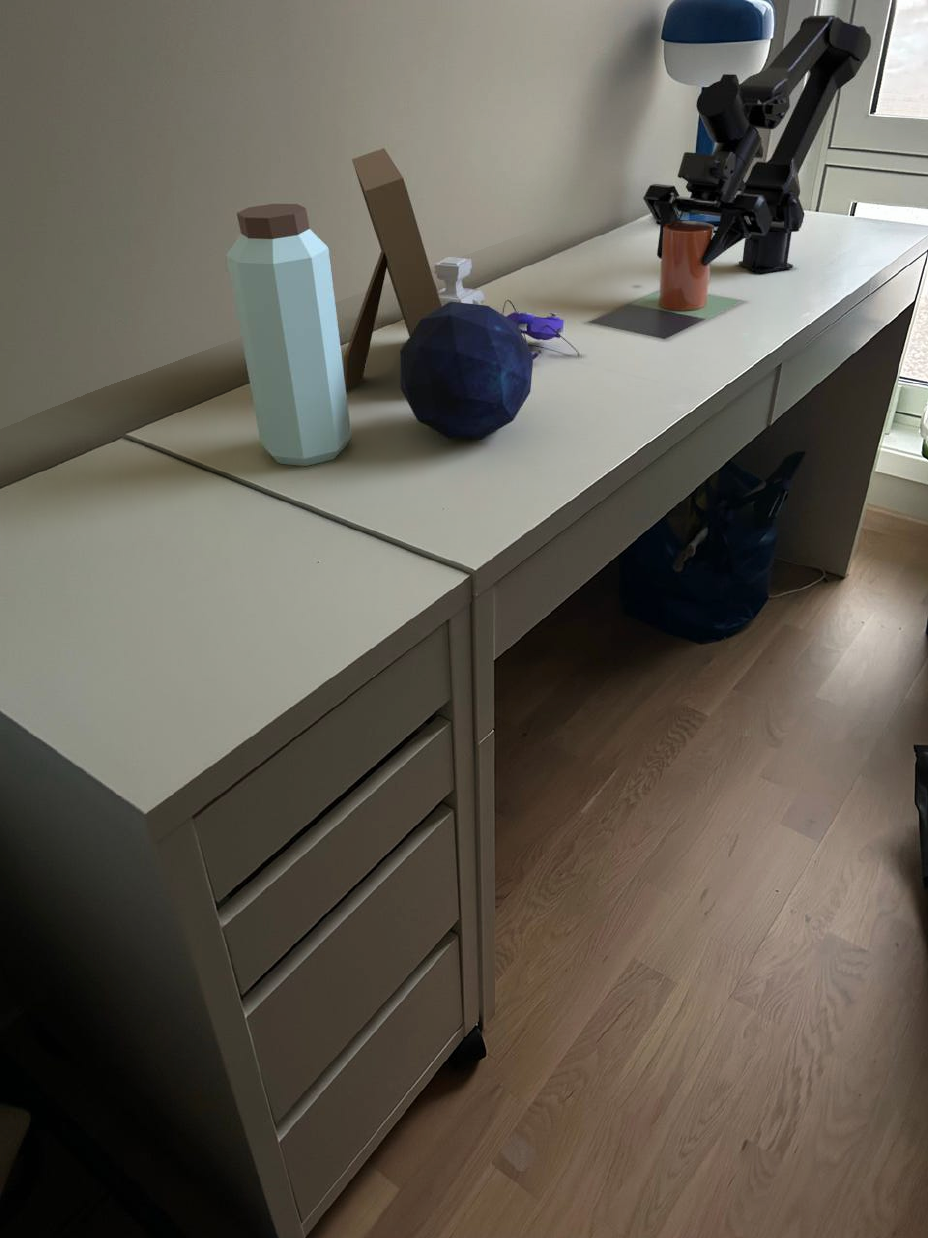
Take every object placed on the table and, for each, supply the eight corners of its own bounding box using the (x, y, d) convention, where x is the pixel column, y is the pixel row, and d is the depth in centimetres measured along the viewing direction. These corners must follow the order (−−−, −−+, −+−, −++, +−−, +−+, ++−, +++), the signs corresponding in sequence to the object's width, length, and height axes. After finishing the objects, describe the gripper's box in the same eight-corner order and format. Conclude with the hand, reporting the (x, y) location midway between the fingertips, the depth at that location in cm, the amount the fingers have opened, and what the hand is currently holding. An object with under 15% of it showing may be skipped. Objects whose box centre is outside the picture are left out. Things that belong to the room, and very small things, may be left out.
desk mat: (668, 288, 149) (668, 287, 149) (742, 301, 142) (742, 300, 141) (588, 323, 137) (588, 321, 137) (665, 340, 129) (665, 338, 129)
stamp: (418, 322, 141) (414, 263, 136) (441, 309, 146) (437, 252, 141) (471, 329, 137) (468, 269, 132) (492, 315, 142) (490, 257, 137)
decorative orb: (552, 357, 110) (470, 256, 103) (567, 407, 98) (474, 295, 91) (459, 432, 115) (375, 339, 108) (461, 488, 103) (367, 387, 96)
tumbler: (674, 294, 146) (680, 218, 139) (715, 302, 142) (723, 224, 135) (648, 306, 141) (653, 228, 135) (690, 314, 137) (697, 234, 131)
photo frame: (440, 338, 134) (428, 144, 120) (465, 393, 117) (454, 173, 102) (336, 349, 133) (311, 153, 118) (346, 406, 115) (317, 184, 101)
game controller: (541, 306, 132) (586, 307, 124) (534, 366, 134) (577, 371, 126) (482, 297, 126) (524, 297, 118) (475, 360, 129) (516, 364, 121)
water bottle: (266, 435, 109) (225, 203, 95) (353, 428, 109) (325, 196, 95) (258, 473, 101) (212, 225, 86) (352, 465, 101) (321, 217, 87)
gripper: (654, 122, 136) (606, 219, 136) (774, 130, 125) (721, 235, 125) (679, 173, 145) (634, 263, 145) (793, 184, 134) (744, 282, 134)
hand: (680, 260), depth 137 cm, fingers closed on tumbler, 7 cm apart
